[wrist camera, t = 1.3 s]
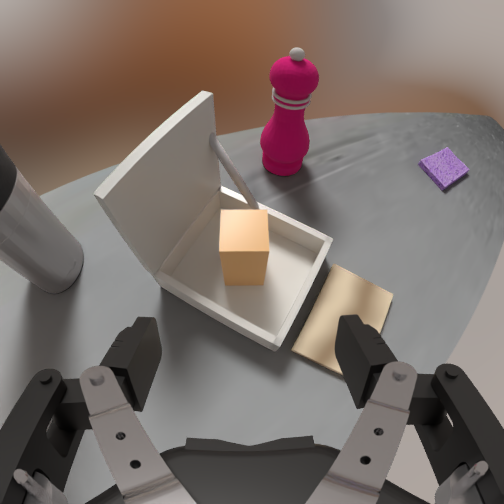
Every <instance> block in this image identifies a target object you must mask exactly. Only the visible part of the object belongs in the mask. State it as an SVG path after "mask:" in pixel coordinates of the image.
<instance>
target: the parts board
mask: <svg viewBox="0 0 504 504" xmlns="http://www.w3.org/2000/svg"><path fill="white" fill-rule="evenodd" d="M392 297H393V294H392V293H390V292H388V291H386V290H384V289H382V288H380V287H378V286H376V285H374V284H373V283H371V282H369V281H367V280H365V279H363V278H361V277H359V276H357V275H355V274H353V273H351V272H349V271H347V270H345V269H344V268H342V267H340V266H338V265H336V264H333V265H332V267H331V269H330V272H329V274H328V276H327V278H326V280H325V282H324V285H323V287H322V289H321V291H320V293H319V295H318V297H317V299H316V302H315V304H314V306H313V308H312V310H311V312H310V314H309V316H308V318H307V320H306V322H305V324H304V326H303V328H302V330H301V332H300V334H299V336H298V338H297V340H296V342H295V343H294V345H293V347H292V349H291V351H293V352H295V353H297V354H299V355H301V356H303V357H305V358H307V359H309V360H311V361H313V362H315V363H317V364H319V365H321V366H324V367H326V368H328V369H330V370H332V371H334V372H336V373H338V374H341V375H343V373H342V371H341V369H340V366H339V364H338V361H337V359H336V356H335V340H336V334H337V328H338V322H339V318H340V316H341V315H353V314H357V315H358V316H359V317H360V319H361V320H362V322H363V323H364V324H369V325H370V326H372V327H373V328H375V329H376V330H377V331H378V332H379V334H380V332H381V329H382V326H383V324H384V321H385V318H386V315H387V312H388V309H389V306H390V303H391V300H392Z"/></svg>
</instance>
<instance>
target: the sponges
mask: <svg viewBox="0 0 504 504" xmlns="http://www.w3.org/2000/svg"><path fill="white" fill-rule="evenodd" d="M418 165H419V166H420V167H421V168H422V169H423V170H424V171H425V172H426V173H427V175H428V176H429V177H430V178H431V179H432V180H433V181H434V182H435V183H436V184H437V186H438V187H439V188H440V189H441V190H444V189H445V188H447V187H448V186H449V185H451V184H452V183H454V182H455V181H457V180H458V179H459V178H461V177H462V176H464V175H465V174H466V173H467V172H468V171H469V169H468V168H467V167H466V166H465V165H464V164H463V163H462V162H461V161H460V160H459V159H458V158H457V157H456V156H455V155H454V154H453V153H452V151H451V150H450V149H449V148H448V147H447V148H445V149H443V150H441V151H439V152H437V153H435V154H434V155H431V156H429V157H427V158H424V159H422V160H420V162H419V163H418Z"/></svg>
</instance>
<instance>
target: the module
mask: <svg viewBox="0 0 504 504" xmlns="http://www.w3.org/2000/svg"><path fill="white" fill-rule="evenodd" d="M269 251H270V250H269V231H268V213H267V210H221V217H220V240H219V254H220V260H221V265H222V271H223V277H224V282H225V286H246V285H264V279H265V274H266V268H267V263H268V257H269Z"/></svg>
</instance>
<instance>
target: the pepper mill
mask: <svg viewBox="0 0 504 504" xmlns="http://www.w3.org/2000/svg"><path fill="white" fill-rule="evenodd" d="M304 57H305V53H304V51H303V50H302V49H301V48H293V49H292V50H291V51H290V56H287V57H283V58H281V59H279V60H277V61H276V62H275V63H274V64H273V66H272V67H271V70H270V81H271V84H272V86H273V87H274V88H273V90H272V93H273V94H272V100H273V101H274V103H275V111H274V114H273V116H272V118H271V119H270V121H269V122H268V123H267V125H266V126H265V128H264V130H263V132H262V134H261V140H260V144H261V148H262V150H263V157H262V162H263V165H264V167H265V168H266V169H267V170H268V171H269V172H271V173H273V174H276V175H279V176H289V175H292V174H295V173H296V172H298V171H299V170H300V168H301V165H302V161H303V157H304V156H305V155H306V154H307V152H308V149H309V134H308V131H307V128H306V125H305V122H304V111H305V108H306V107H308V106H309V105H310V102H311V101H310V99H311V97H312V95H311V93H312V92H313V91H314V90H315V89H316V87H317V85H318V81H319V75H318V71H317V69H316V67H315V66H314V65H313V64H312V63H311V62H310V61H308V60H307V59H304Z"/></svg>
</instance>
